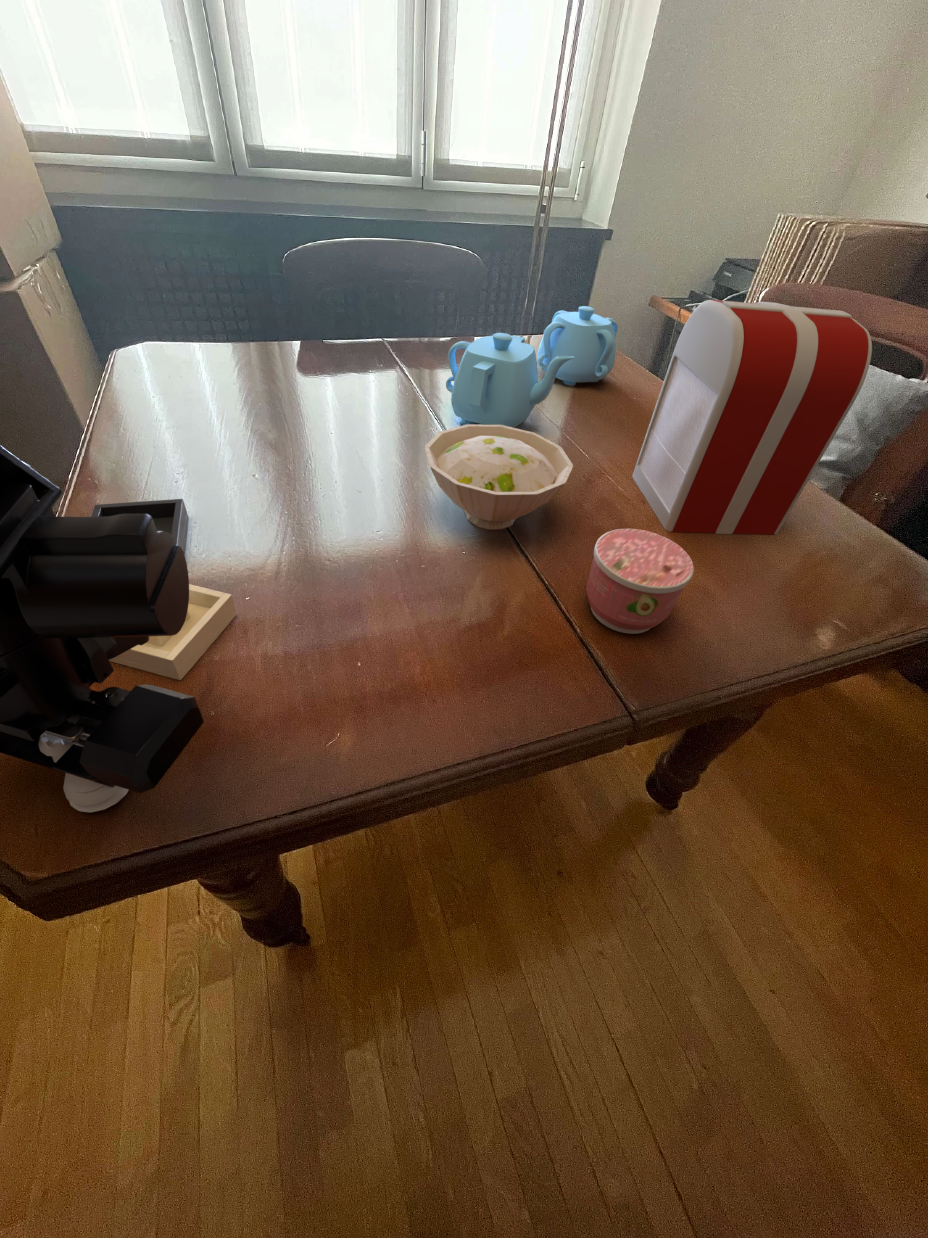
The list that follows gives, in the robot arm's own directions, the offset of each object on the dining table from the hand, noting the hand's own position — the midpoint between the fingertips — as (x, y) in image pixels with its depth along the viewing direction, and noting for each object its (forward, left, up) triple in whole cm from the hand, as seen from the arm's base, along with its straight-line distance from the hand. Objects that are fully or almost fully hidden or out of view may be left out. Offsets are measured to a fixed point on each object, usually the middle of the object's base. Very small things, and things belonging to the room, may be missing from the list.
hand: (94, 774), depth 41 cm
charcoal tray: (-17, +28, -2) cm, 33 cm away
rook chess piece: (0, 0, -2) cm, 2 cm away
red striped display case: (+50, +66, -2) cm, 83 cm away
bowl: (+20, +50, -2) cm, 54 cm away
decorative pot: (+25, +112, -2) cm, 115 cm away
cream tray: (-7, +16, -2) cm, 18 cm away
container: (+39, +36, -2) cm, 53 cm away
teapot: (+15, +81, -2) cm, 82 cm away
